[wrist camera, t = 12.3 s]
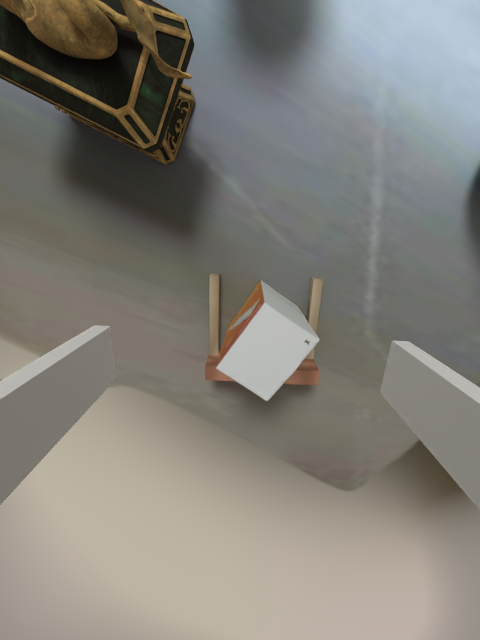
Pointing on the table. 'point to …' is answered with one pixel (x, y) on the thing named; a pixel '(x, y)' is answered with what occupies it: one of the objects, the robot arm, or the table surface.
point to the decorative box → (104, 66)
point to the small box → (265, 342)
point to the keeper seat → (301, 376)
